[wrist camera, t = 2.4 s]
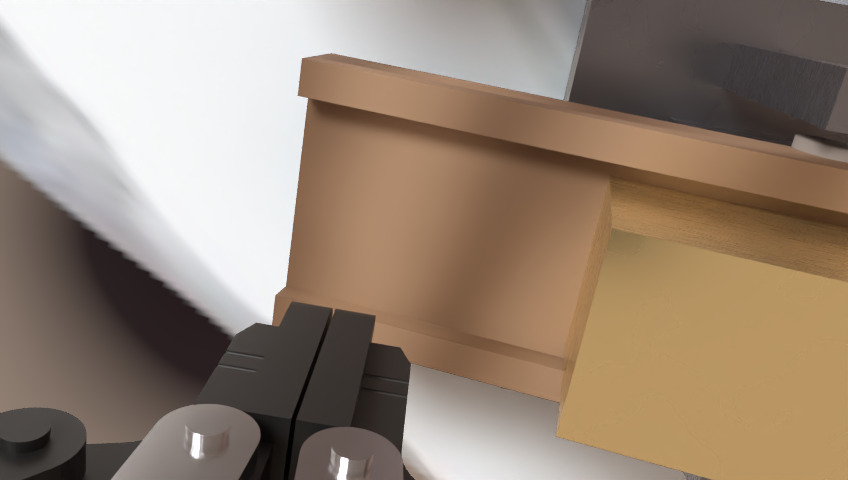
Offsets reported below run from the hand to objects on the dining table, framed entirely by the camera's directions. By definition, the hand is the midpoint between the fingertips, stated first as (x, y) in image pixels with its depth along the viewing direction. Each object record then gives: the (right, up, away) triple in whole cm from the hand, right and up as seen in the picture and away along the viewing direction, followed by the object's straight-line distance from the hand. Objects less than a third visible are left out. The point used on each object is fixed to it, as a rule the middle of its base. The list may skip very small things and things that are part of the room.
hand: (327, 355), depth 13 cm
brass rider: (+10, +1, +7) cm, 12 cm away
